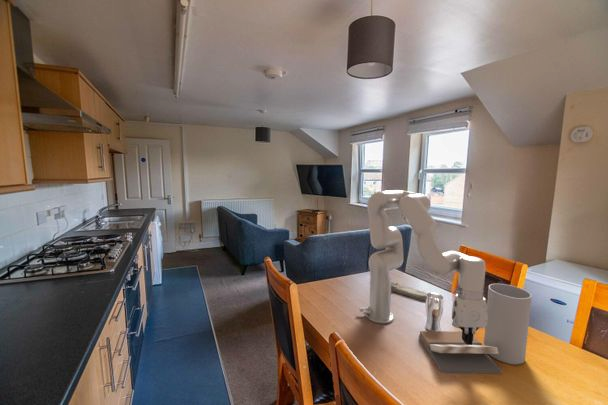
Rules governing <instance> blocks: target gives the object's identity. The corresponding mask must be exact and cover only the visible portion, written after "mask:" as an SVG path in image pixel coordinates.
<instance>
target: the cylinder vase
mask: <svg viewBox="0 0 608 405" xmlns="http://www.w3.org/2000/svg"><path fill="white" fill-rule="evenodd" d="M532 297H533V296H532V293H530V292H529V291H528V290H526V289H523V288H521V287H518V286H515V285H510V284H506V283H491V284H489V285H488V290H487V299H486V303H487V311H488V323H487V326H486V327H484V336H483V345H486V346H493V347H497V349H498V353H499V354H488V356H489V357H492V358H493V359H495V360H497V361H498V362H501V363H504V364H508V365H509V364H510V365H522V364H523V363H524V362H525V361H526V353H527V346H528V345H527V343H528V333H529V325H530V316H531V315H530V314H531V305H532Z"/></svg>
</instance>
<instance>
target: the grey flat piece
mask: <svg viewBox="0 0 608 405" xmlns="http://www.w3.org/2000/svg"><path fill="white" fill-rule="evenodd" d="M418 339H419V341H420V342H421V343H422V345H423V346H424V348H425V349H426V351H427V352H428V354H429V355H430V356H431V359H432V360H433V362H434V363H435V365H436V366H437V368H438V369H439V370H440V372H441V373H442V374H444V373H445V374H446V373H447V374H448V373H450V374H454V373H455V374H502V368H501V367H500V366H499V365H498V364H497V363H496V362H495V361H494V360H493V359H492V358H491V356H490V355H489V354H480V353H439V352H435V351H431V350H430V344H444V345H467V344H466V343H465V342H464V341H463V340H462V331H447V330H446V331H445V330H444V331H442V330H441V331H429V330H425V331H424V330H421V331H419V335H418ZM472 345H483V344H482V342H481V341H480V340H478V338H477V337H475V335H473V341H472Z"/></svg>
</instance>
